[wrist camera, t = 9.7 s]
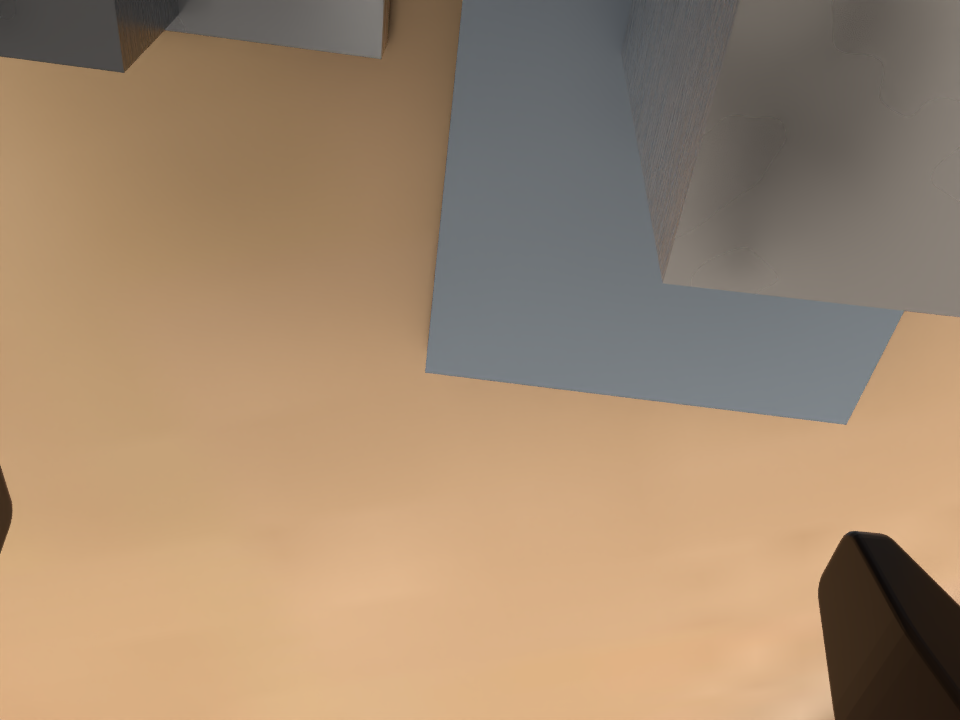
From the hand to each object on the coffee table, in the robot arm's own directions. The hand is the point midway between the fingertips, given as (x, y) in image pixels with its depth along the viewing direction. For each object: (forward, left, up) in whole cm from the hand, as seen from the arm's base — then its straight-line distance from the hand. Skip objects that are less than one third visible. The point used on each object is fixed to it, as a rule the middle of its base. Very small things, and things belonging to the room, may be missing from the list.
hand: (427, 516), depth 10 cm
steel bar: (+5, +3, -11) cm, 13 cm away
